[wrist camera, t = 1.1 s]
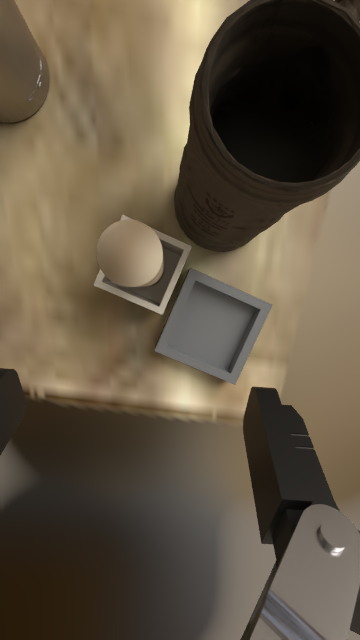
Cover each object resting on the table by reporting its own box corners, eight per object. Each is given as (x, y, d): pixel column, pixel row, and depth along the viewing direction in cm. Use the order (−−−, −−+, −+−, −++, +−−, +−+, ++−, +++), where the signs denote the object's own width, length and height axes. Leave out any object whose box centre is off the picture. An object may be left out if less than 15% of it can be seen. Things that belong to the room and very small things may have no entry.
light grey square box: (105, 285, 34) (93, 285, 28) (129, 227, 34) (122, 214, 28) (163, 310, 35) (162, 315, 29) (187, 253, 34) (192, 246, 28)
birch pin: (123, 278, 34) (86, 270, 18) (137, 245, 33) (111, 208, 17) (155, 292, 34) (147, 297, 18) (169, 260, 34) (173, 236, 18)
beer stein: (240, 272, 35) (353, 228, 15) (156, 234, 34) (156, 132, 14) (292, 152, 34) (478, -58, 15) (210, 110, 34) (288, -176, 14)
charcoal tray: (155, 346, 35) (154, 351, 33) (189, 269, 34) (190, 268, 32) (230, 378, 36) (235, 384, 34) (264, 303, 35) (272, 304, 33)
